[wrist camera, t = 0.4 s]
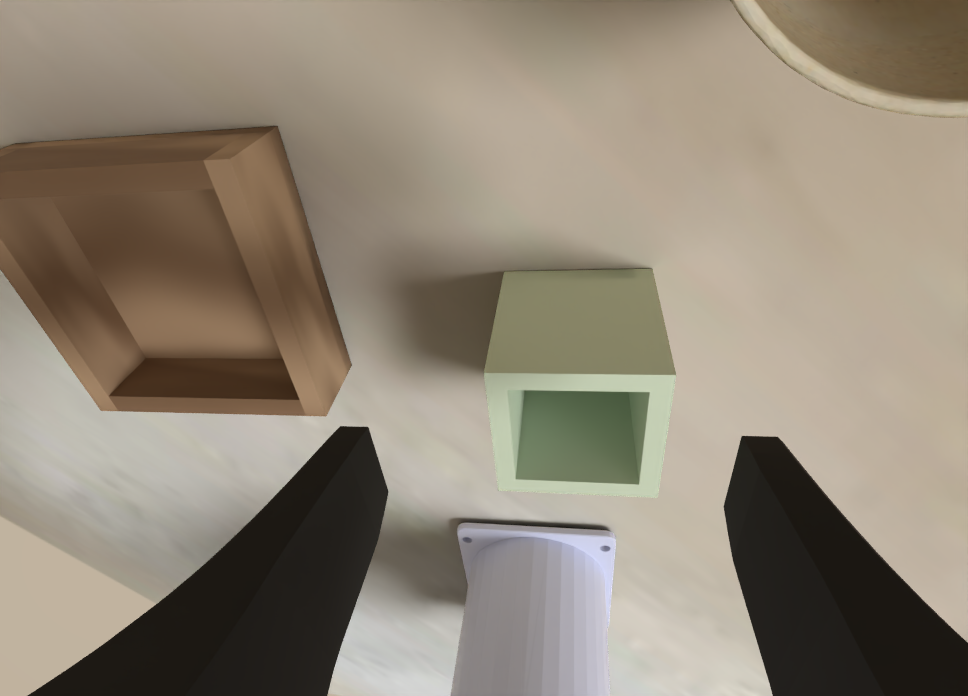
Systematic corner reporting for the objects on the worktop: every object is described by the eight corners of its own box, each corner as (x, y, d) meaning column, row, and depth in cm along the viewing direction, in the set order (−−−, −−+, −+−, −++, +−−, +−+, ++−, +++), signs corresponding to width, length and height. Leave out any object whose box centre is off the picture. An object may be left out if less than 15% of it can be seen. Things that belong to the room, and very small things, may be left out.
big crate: (351, 365, 23) (326, 416, 20) (146, 363, 24) (100, 410, 22) (277, 125, 17) (230, 159, 15) (15, 143, 19) (-66, 175, 16)
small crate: (640, 381, 21) (657, 497, 17) (513, 379, 22) (498, 490, 18) (652, 268, 18) (675, 374, 14) (504, 271, 19) (483, 373, 15)
